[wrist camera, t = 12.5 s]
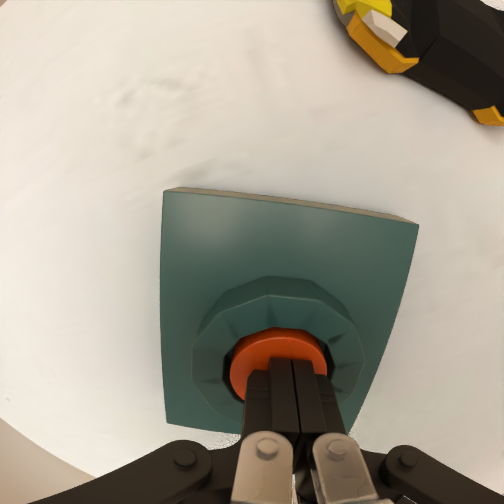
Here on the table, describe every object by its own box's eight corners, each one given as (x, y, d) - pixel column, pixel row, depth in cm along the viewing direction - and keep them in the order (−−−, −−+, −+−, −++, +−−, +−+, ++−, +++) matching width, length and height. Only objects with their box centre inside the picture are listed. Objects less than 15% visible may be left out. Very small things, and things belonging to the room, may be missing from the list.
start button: (309, 386, 12) (314, 412, 11) (230, 379, 12) (226, 406, 11) (328, 317, 12) (337, 341, 10) (237, 308, 12) (233, 331, 10)
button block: (339, 412, 16) (353, 460, 12) (175, 397, 16) (158, 446, 12) (397, 215, 13) (443, 234, 9) (178, 186, 13) (145, 195, 9)
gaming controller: (321, -74, 8) (285, 44, 11) (336, -132, 3) (300, -22, 6) (522, 34, 9) (522, 159, 11) (571, 18, 3) (588, 166, 6)
